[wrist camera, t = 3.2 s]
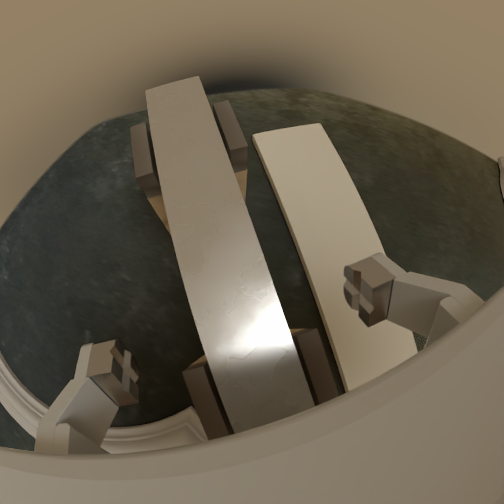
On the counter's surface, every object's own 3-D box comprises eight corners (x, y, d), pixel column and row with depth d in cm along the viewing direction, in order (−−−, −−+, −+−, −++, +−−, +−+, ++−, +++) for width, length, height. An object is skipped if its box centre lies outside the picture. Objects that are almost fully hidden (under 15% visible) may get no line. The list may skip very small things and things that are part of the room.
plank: (317, 128, 29) (319, 123, 28) (415, 365, 22) (421, 366, 21) (252, 140, 28) (252, 134, 27) (348, 403, 21) (353, 405, 20)
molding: (-30, 398, 17) (-42, 399, 14) (-32, 319, 21) (-45, 317, 18) (268, 509, 18) (271, 525, 15) (285, 413, 21) (291, 423, 19)
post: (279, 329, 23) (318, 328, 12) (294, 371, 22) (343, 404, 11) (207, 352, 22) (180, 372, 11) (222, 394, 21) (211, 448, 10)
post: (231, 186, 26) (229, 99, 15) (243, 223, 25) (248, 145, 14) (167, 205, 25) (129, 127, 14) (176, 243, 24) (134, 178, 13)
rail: (202, 111, 18) (198, 75, 15) (312, 432, 13) (331, 457, 9) (156, 124, 18) (145, 90, 14) (252, 453, 12) (256, 483, 9)
